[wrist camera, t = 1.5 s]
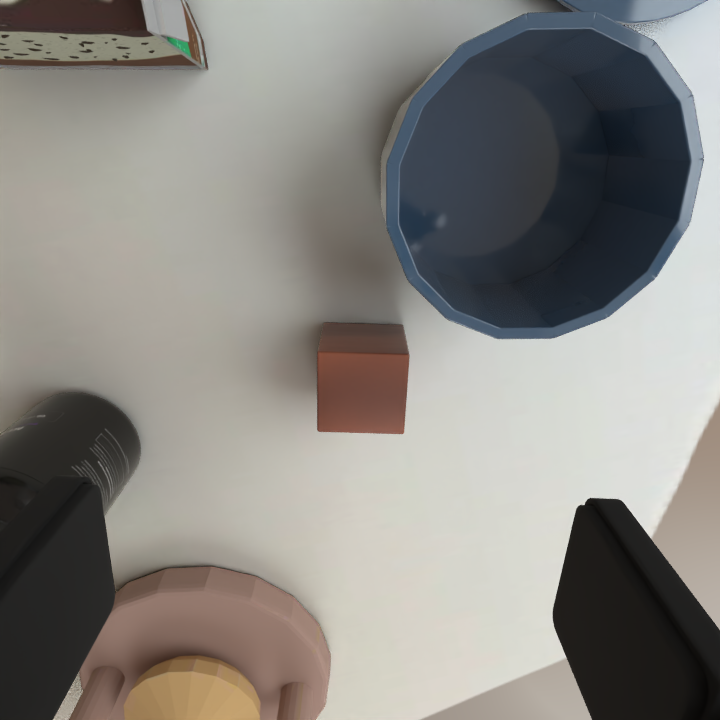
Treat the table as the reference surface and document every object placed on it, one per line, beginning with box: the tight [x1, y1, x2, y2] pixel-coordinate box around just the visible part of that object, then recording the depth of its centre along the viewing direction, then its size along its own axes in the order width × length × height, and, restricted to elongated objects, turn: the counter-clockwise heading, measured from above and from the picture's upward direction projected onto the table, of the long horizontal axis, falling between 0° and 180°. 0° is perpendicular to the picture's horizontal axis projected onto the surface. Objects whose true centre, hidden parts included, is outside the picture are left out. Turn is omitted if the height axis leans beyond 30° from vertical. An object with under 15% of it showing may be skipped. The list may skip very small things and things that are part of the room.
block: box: [317, 323, 409, 434], centre depth 28 cm, size 4×4×4 cm
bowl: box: [380, 12, 704, 339], centre depth 23 cm, size 11×11×8 cm
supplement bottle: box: [0, 392, 141, 532], centre depth 27 cm, size 7×7×12 cm
